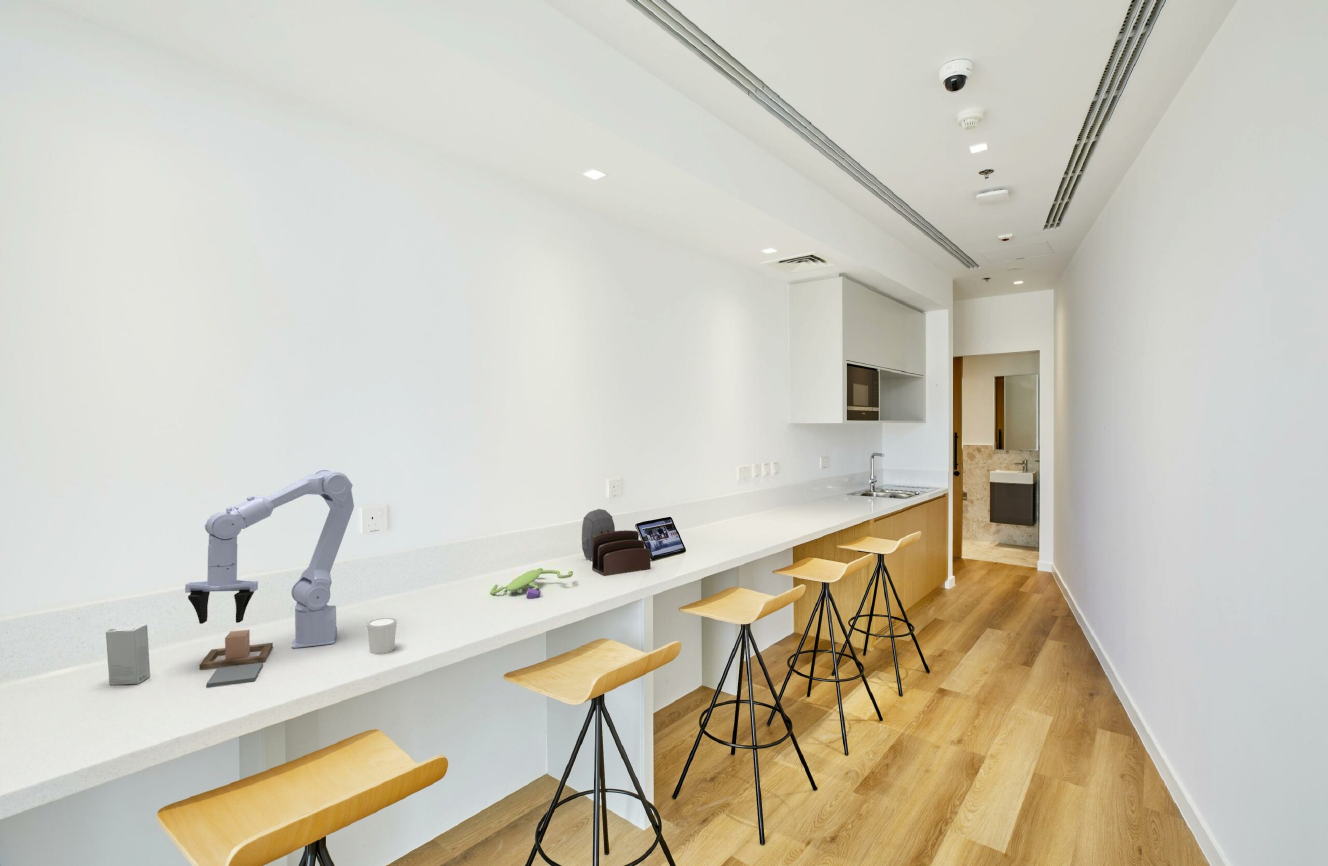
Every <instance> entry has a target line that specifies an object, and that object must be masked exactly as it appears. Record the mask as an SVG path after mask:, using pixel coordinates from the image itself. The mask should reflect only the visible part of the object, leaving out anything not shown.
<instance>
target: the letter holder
mask: <svg viewBox="0 0 1328 866" xmlns="http://www.w3.org/2000/svg"><path fill="white" fill-rule="evenodd" d="M639 537H640V534H639V531H637V530H628V529H627V530H615V531H613V532H607V533H602V534H599V535H595V536H594V537H593V539H592V559H591V560H592V561H591V563H592V565H591V566H592V567H591V570H592V571H593V572H595V573H597V574H599V575H601V576H603V577H607V576H608V577H609V576H612V575H613V576H614V575H621V574H627V573H633V572H640V571H647V570H651V569H652V568H651V567H652V565H651V550H650V548H646V547H645V541H644V540H643V539H639Z"/></svg>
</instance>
